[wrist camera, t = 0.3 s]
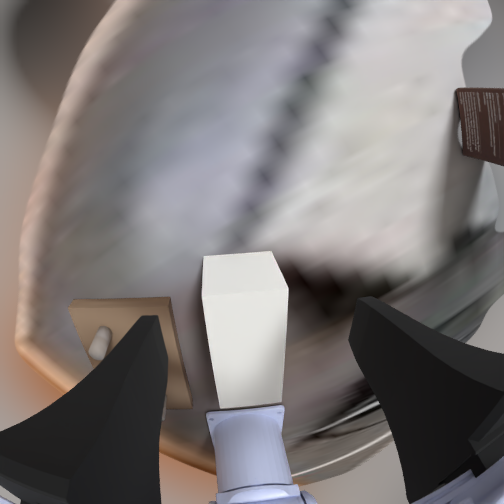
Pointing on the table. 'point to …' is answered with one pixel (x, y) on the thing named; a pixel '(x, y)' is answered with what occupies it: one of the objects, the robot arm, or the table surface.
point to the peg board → (118, 324)
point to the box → (482, 123)
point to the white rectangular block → (245, 326)
